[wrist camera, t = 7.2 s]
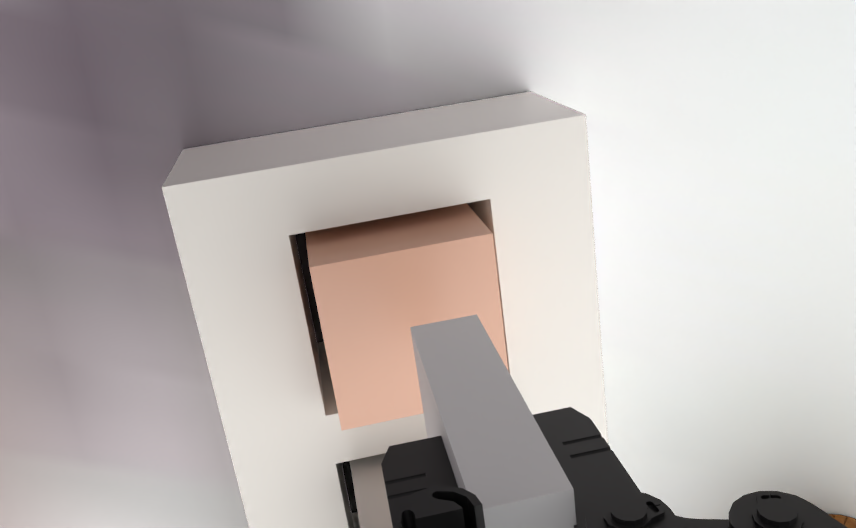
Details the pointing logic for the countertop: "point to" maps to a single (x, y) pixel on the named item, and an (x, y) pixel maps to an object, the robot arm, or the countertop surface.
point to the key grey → (370, 492)
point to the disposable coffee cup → (845, 520)
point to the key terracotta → (397, 301)
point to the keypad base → (364, 201)
